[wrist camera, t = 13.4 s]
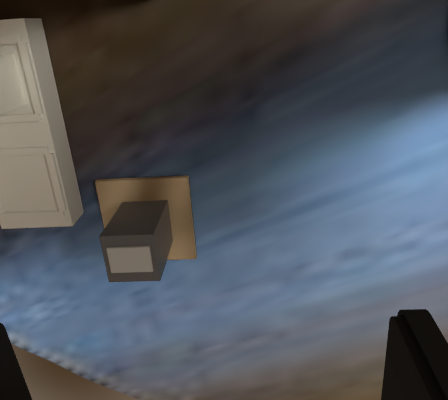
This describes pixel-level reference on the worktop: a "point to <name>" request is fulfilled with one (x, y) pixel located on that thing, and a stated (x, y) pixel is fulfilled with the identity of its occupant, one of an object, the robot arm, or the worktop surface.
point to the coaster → (153, 191)
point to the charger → (137, 241)
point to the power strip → (33, 134)
